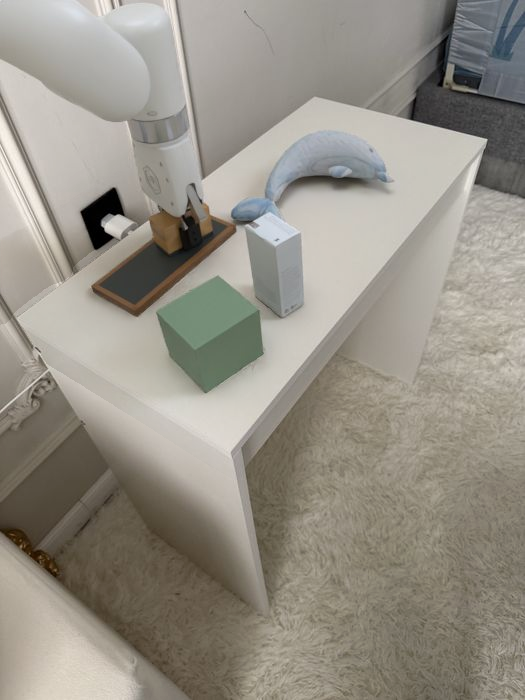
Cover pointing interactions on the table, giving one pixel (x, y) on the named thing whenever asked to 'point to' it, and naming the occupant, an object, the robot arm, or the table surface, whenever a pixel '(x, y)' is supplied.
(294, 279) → the cosmetic box
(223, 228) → the chalkboard
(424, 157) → the table surface
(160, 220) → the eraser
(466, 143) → the table surface
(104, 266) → the table surface
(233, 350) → the sage green box
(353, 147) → the sculpture
